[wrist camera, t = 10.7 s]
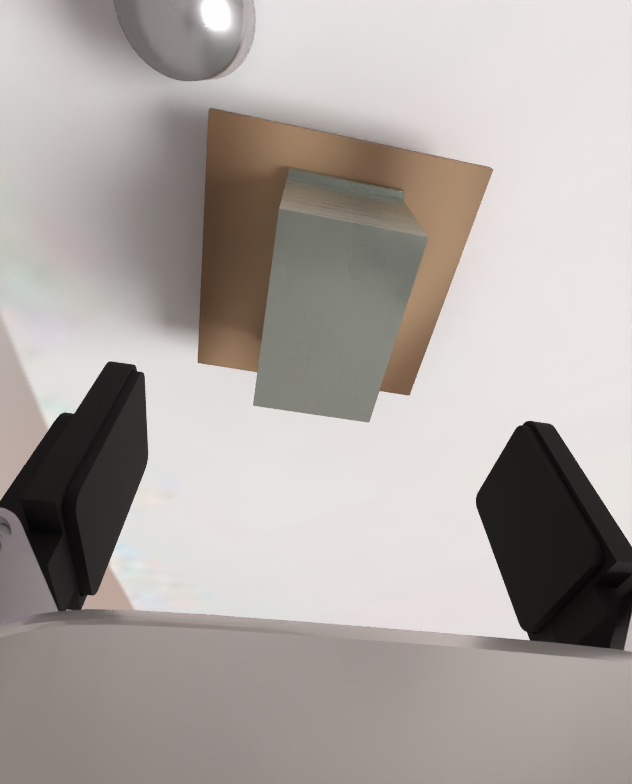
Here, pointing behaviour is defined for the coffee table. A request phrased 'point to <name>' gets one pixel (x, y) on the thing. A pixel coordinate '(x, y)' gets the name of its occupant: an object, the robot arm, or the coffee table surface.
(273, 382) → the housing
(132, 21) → the knob
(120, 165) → the coffee table surface
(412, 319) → the stand
